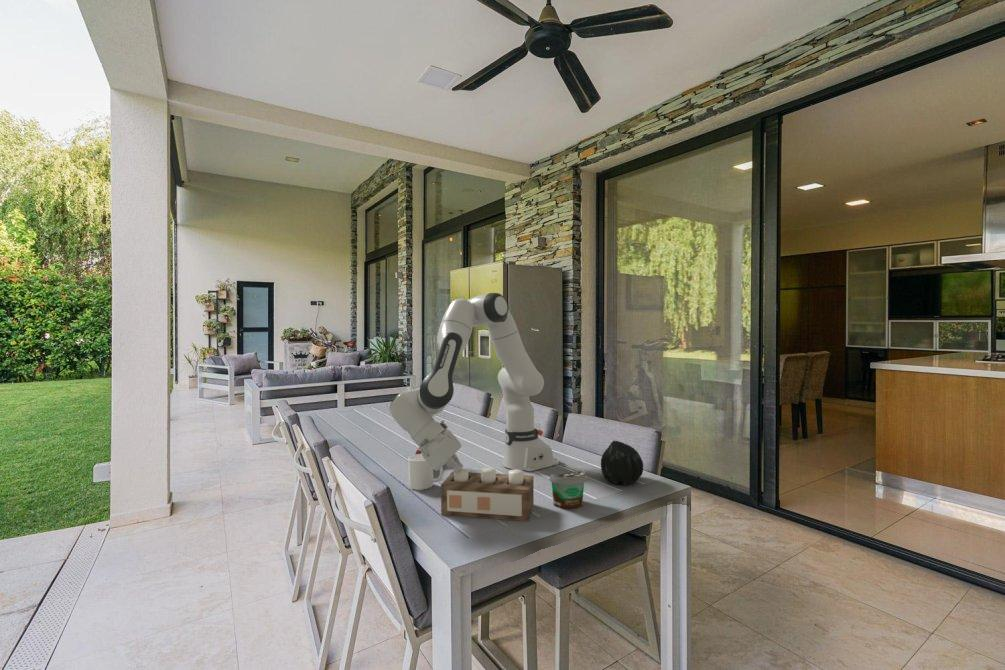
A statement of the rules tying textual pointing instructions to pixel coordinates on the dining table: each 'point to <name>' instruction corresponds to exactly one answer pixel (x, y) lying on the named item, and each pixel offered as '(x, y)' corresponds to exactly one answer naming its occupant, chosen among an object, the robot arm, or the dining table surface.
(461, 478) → the white egg
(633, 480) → the squash
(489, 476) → the white rounded cylinder
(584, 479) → the food container
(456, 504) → the pattern card
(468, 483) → the wooden peg block
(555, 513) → the dining table surface
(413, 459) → the cup
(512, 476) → the white rounded cylinder
